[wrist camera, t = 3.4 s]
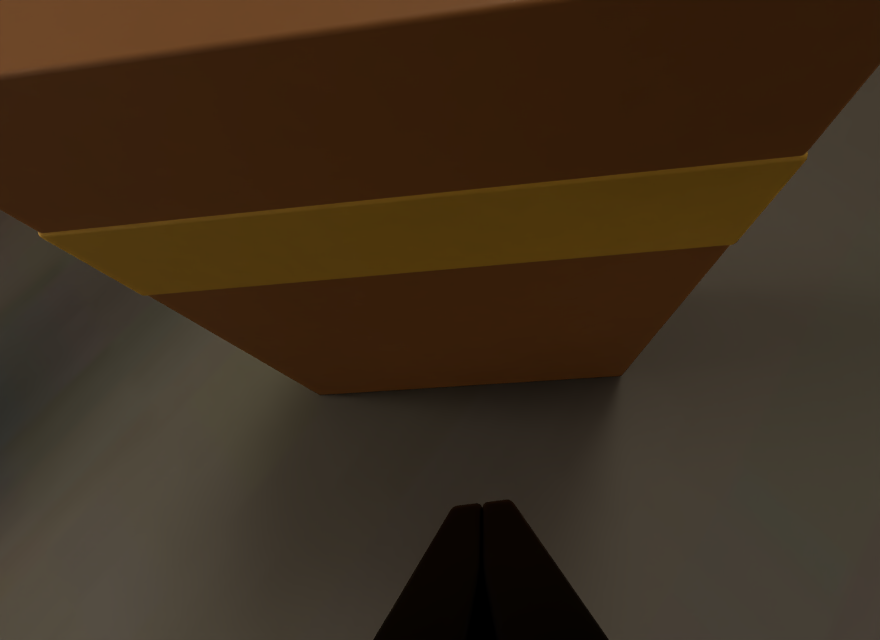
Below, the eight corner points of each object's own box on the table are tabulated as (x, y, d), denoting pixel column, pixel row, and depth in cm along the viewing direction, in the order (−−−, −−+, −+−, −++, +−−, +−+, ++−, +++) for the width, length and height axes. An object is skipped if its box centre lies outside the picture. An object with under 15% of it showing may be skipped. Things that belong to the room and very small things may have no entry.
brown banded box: (623, 377, 21) (995, -57, 5) (317, 396, 22) (-198, 106, 6) (610, 290, 22) (871, -290, 6) (320, 313, 23) (-103, -112, 7)
